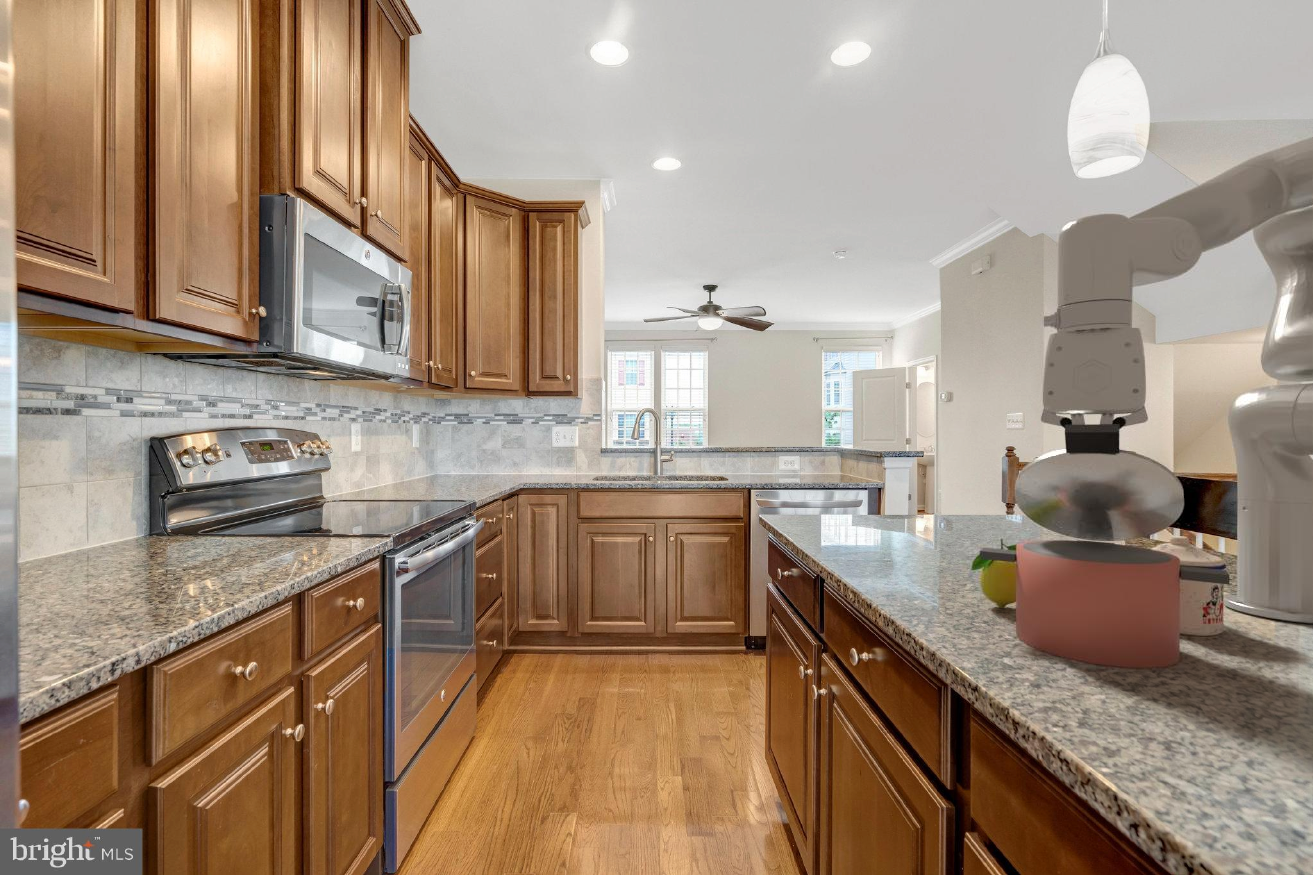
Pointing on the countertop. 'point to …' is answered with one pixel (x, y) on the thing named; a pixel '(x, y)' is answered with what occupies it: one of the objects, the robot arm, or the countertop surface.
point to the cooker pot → (1100, 600)
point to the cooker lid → (1098, 488)
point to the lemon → (998, 579)
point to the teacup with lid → (1197, 590)
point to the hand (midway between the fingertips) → (1091, 471)
